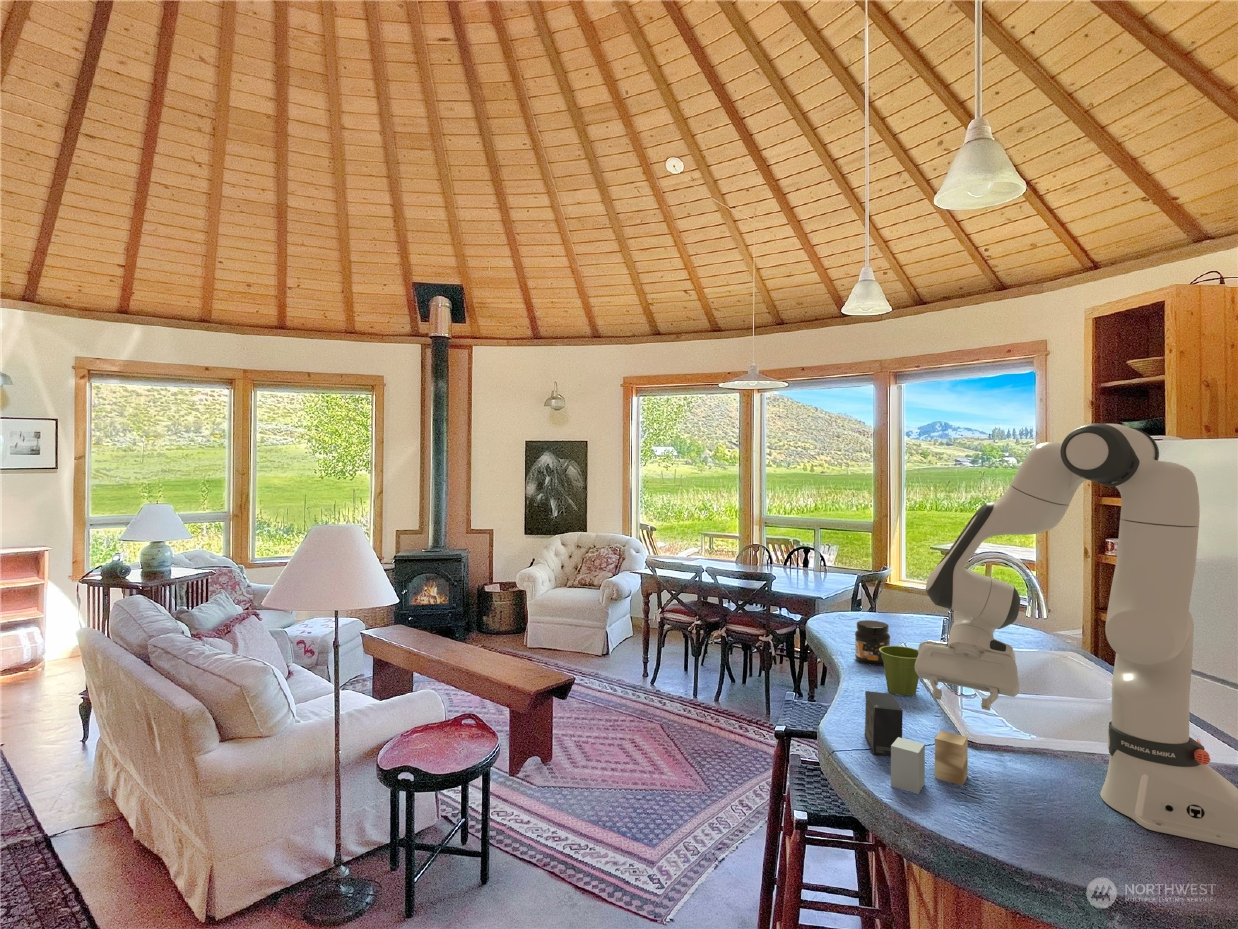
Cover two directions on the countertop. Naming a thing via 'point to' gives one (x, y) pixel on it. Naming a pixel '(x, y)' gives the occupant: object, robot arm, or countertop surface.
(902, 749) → the grey box
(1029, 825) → the countertop surface
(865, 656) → the supplement container
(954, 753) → the maple block
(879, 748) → the small box
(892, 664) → the plant pot
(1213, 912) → the countertop surface
